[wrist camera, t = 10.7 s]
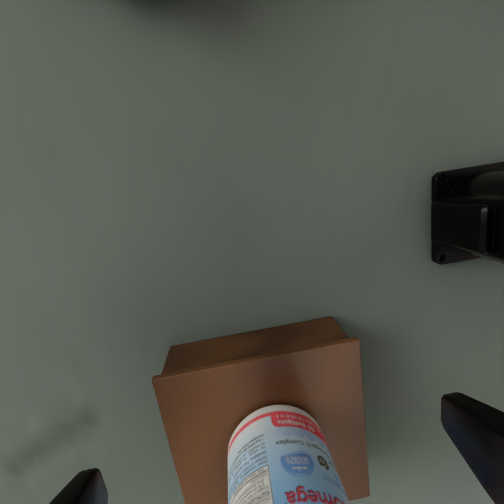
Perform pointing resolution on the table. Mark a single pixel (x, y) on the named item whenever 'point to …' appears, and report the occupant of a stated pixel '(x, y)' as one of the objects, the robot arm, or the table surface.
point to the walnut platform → (262, 399)
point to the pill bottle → (281, 460)
